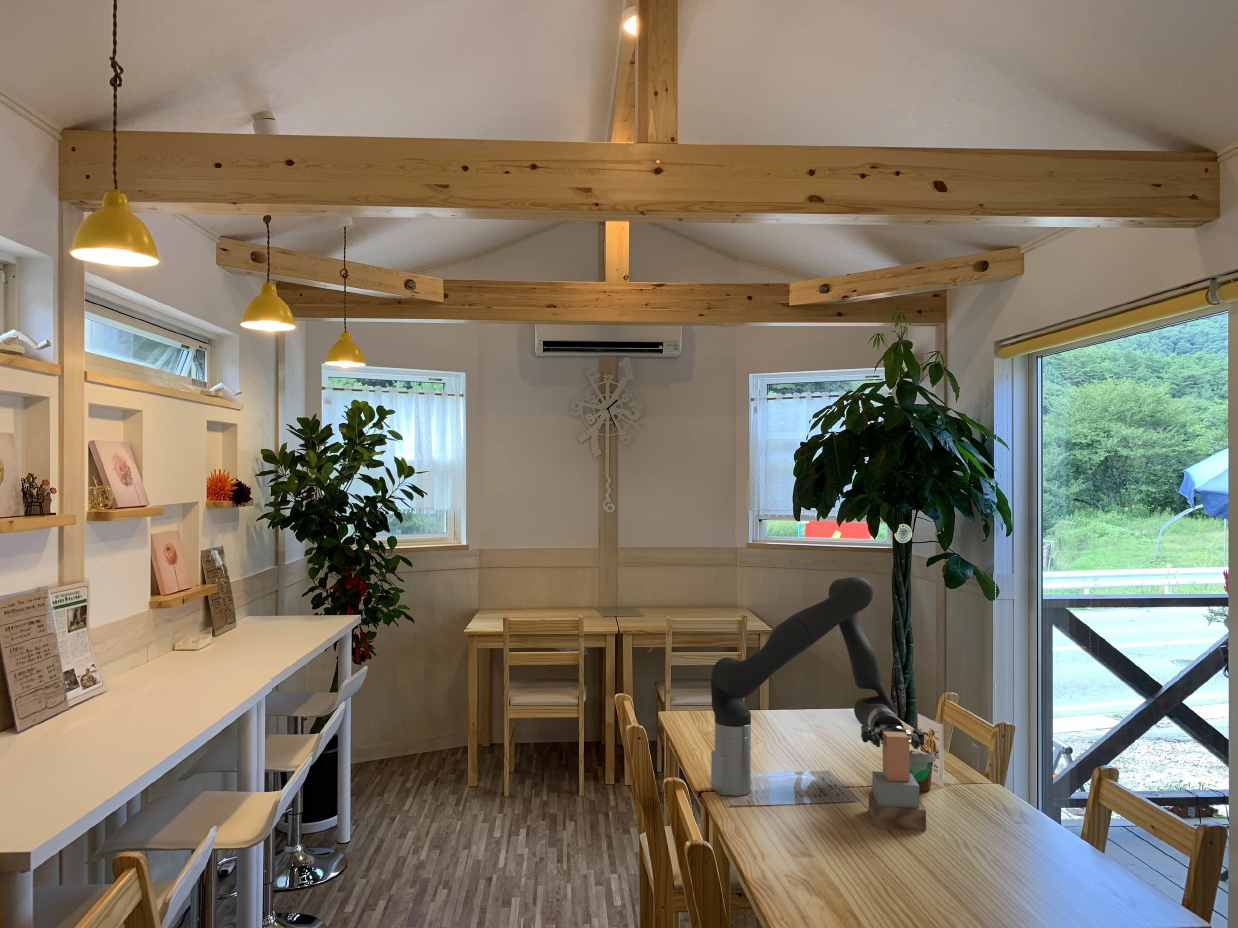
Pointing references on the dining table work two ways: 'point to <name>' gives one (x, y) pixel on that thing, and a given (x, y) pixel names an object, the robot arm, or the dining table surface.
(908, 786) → the slate top slab
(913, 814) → the walnut base slab
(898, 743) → the terracotta pillar
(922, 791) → the food container
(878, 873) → the dining table surface
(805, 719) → the dining table surface
